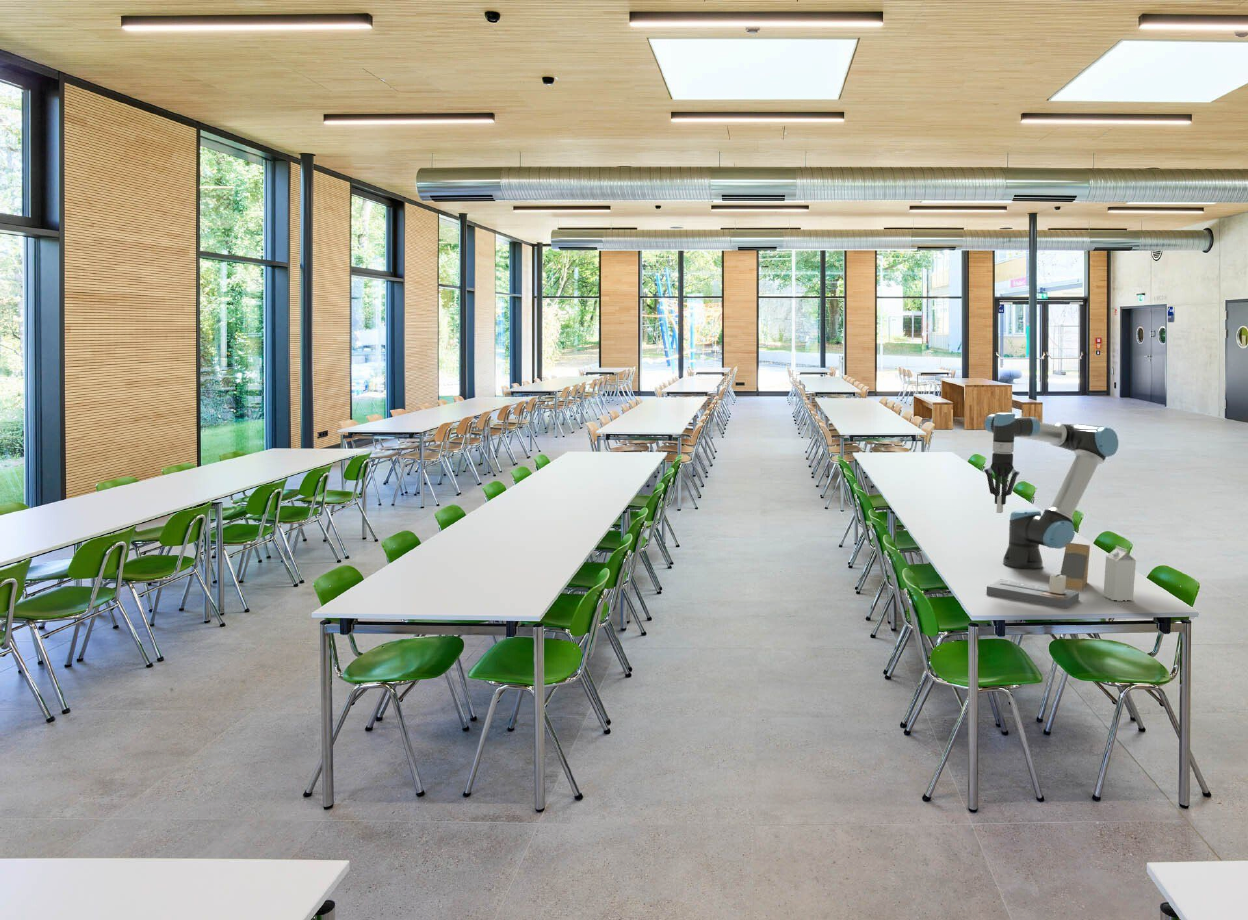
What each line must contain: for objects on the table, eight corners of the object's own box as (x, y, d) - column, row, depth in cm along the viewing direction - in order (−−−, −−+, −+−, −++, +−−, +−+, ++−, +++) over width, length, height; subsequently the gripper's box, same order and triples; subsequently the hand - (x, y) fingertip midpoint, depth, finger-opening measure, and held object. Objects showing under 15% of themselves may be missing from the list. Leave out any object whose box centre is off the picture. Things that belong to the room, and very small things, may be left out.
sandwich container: (1056, 587, 358) (1058, 549, 356) (1063, 579, 371) (1065, 542, 369) (1081, 591, 353) (1083, 552, 351) (1087, 582, 366) (1090, 544, 364)
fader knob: (1052, 589, 341) (1053, 573, 340) (1064, 591, 338) (1066, 575, 337) (1048, 591, 338) (1049, 575, 337) (1061, 594, 335) (1062, 577, 335)
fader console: (1000, 586, 359) (1000, 578, 358) (1078, 600, 340) (1079, 591, 340) (986, 594, 348) (986, 585, 348) (1066, 608, 330) (1067, 599, 329)
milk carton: (1122, 595, 346) (1125, 545, 344) (1133, 601, 339) (1136, 549, 337) (1103, 596, 346) (1106, 545, 344) (1113, 601, 339) (1117, 549, 336)
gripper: (982, 452, 367) (979, 511, 370) (1016, 454, 358) (1013, 515, 361) (989, 450, 372) (986, 509, 375) (1023, 453, 364) (1020, 513, 367)
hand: (999, 512), depth 368 cm, fingers closed
